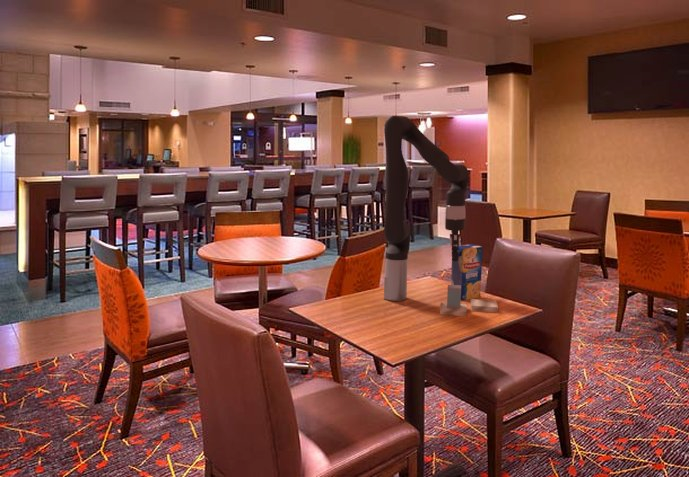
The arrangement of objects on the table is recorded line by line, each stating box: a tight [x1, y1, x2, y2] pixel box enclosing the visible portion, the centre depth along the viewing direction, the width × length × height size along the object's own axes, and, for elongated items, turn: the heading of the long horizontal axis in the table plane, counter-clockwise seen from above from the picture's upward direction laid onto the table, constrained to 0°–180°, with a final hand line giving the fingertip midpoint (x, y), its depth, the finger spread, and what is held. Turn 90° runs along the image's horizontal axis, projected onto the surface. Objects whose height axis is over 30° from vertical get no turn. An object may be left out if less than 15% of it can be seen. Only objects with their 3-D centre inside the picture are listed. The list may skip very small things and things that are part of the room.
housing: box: [446, 284, 462, 309], centre depth 213 cm, size 5×5×8 cm
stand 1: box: [439, 301, 468, 317], centre depth 214 cm, size 10×10×2 cm
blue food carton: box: [450, 243, 484, 301], centre depth 233 cm, size 7×11×22 cm, turn 121°
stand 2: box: [470, 298, 499, 313], centre depth 219 cm, size 10×10×2 cm
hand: (454, 258), depth 212 cm, fingers open, 8 cm apart
